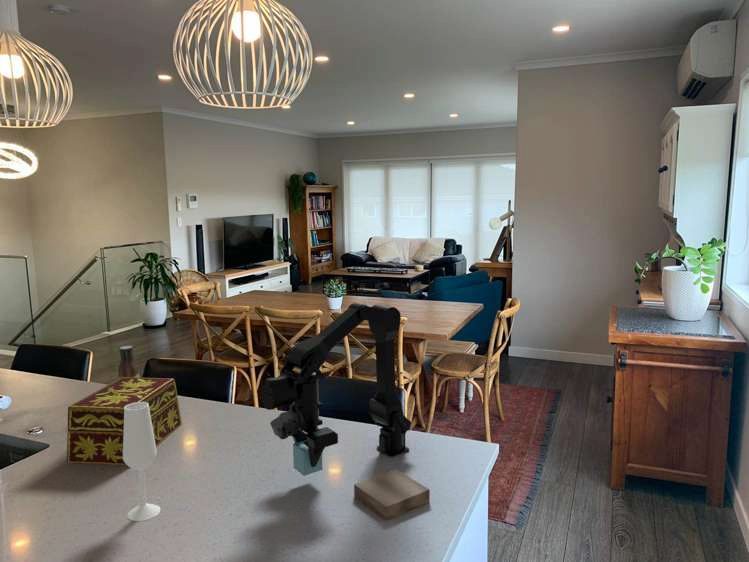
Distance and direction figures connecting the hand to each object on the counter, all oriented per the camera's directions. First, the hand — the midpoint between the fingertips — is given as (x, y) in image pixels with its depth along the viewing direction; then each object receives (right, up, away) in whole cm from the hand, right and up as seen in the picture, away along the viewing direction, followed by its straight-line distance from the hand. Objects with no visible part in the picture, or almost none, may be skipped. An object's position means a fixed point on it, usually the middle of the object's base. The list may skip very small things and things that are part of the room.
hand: (307, 462), depth 133 cm
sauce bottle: (-65, +1, +54) cm, 85 cm away
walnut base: (+20, -6, -7) cm, 22 cm away
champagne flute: (-34, -7, -12) cm, 37 cm away
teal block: (0, -2, 0) cm, 2 cm away
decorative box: (-53, -3, +25) cm, 59 cm away
